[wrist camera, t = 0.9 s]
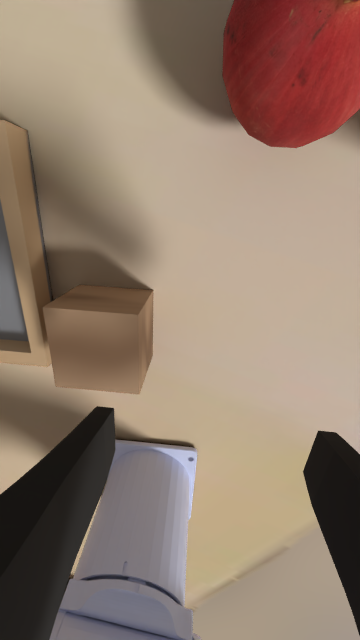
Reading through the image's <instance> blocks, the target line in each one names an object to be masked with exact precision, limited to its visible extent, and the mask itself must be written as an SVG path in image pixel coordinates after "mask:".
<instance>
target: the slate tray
mask: <svg viewBox="0 0 360 640" xmlns="http://www.w3.org/2000/svg"><path fill="white" fill-rule="evenodd" d="M52 301H53V298H52V292H51V285H50V278H49V272H48V265H47V258H46V252H45V245H44V238H43V232H42V225H41V218H40V211H39V205H38V198H37V191H36V185H35V178H34V171H33V165H32V158H31V151H30V145H29V138H28V131H27V130H25V129H23V128H20V127H18V126H16V125H14V124H12V123H9V122H7V121H5V120H0V363H10V364H21V365H32V366H43V367H48V366H49V365H50V364H51V363H52V361H51V355H50V349H49V343H48V337H47V331H46V325H45V319H44V314H43V308H42V307H44V306H45V305H47V304H49V303H50V302H52Z"/></svg>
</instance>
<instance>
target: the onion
mask: <svg viewBox="0 0 360 640" xmlns="http://www.w3.org/2000/svg"><path fill="white" fill-rule="evenodd" d="M222 76H223V80H224V83H225V87H226V90H227V94H228V98H229V101H230V105H231V108H232V111H233V113H234V115H235V116H236V118H237V119H238V121H239V122H240V123H241V125H242V126H243V128H244V129H245V130H246V132H247V133H248V135H250V136H252V137H254V138H256V139H257V140H259V141H261V142H263V143H265V144H266V145H268V146H271V147H288V148H297V147H301V146H304V145H306V144H309V143H311V142H313V141H316V140H318V139H320V138H322V137H325V136H327V135H329V134H332V133H334V132H335V131H336V130H337V129H338V128H339V127H340V126H341V125H342V124H344V123H345V122H346V121H347V120H348V119H349V118H350V117H351V116H353V115H354V114H355V113H356V112H357V111H358V110H359V109H360V0H234V3H233V5H232V8H231V11H230V14H229V17H228V19H227V23H226V27H225V30H224V43H223V74H222Z"/></svg>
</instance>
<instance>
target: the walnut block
mask: <svg viewBox="0 0 360 640" xmlns="http://www.w3.org/2000/svg"><path fill="white" fill-rule="evenodd" d="M42 308H43V314H44V319H45V325H46V331H47V337H48V343H49V349H50V355H51V361H52V367H53V373H54V379H55V385H56V387H66V388H76V389H87V390H98V391H108V392H119V393H130V394H140V391H141V388H142V385H143V382H144V379H145V376H146V373H147V370H148V367H149V364H150V362H151V359H152V356H153V290H145V289H131V288H117V287H103V286H90V285H78V286H77V287H75V288H73V289H72V290H70V291H68V292H67V293H65V294H64V295H62V296H60V297H59V298H57V299H55V300H54V301H52V302H50V303H49V304H47V305H45V306H44V307H42Z"/></svg>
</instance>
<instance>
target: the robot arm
mask: <svg viewBox="0 0 360 640" xmlns="http://www.w3.org/2000/svg"><path fill="white" fill-rule="evenodd" d="M196 462H197V450H196V449H195V448H193V447H184V446H174V445H165V444H155V443H145V442H135V441H126V440H116V439H115V423H114V408H107V407H98V406H97V407H96V408H95V409H94V410H93V411H92V412H91V413H90V414H89V415H88V416H87V417H86V418H85V419H84V420H83V421H82V422H81V423H80V424H79V425H78V426H77V427H76V428H75V429H74V430H73V431H72V432H71V433H70V434H69V435H68V436H67V437H66V438H64V439H63V440H62V441H61V442H60V443H59V444H58V445H57V446H56V447H55V448H54V449H53V450H52V451H51V452H50V453H48V454H47V455H46V456H45V457H44V458H43V459H42V460H41V461H40V462H38V463H37V464H36V465H35V466H34V467H33V468H31V469H30V470H29V471H28V472H27V473H26V474H25V475H23V476H22V477H21V478H20V479H19V480H18V481H16V482H15V483H14V484H13V485H12V486H10V487H9V488H8V489H7V490H5V491H4V492H3V493H2V494H0V640H202V639H201V637H200V636H198V635H197V634H195V633H192V631H193V627H192V626H193V611H192V610H191V609H188V608H185V607H184V602H185V580H186V557H187V534H188V520H189V519H190V517H191V508H192V499H193V490H194V480H195V471H196ZM303 473H304V477H305V481H306V485H307V489H308V493H309V496H310V500H311V504H312V507H313V509H314V512H315V515H316V517H317V520H318V523H319V525H320V528H321V531H322V533H323V536H324V538H325V541H326V544H327V546H328V549H329V551H330V554H331V556H332V559H333V562H334V564H335V567H336V569H337V572H338V575H339V577H340V580H341V582H342V585H343V587H344V590H345V593H346V596H347V598H348V601H349V604H350V607H351V609H352V612H353V616H354V619H355V622H356V625H357V629H358V632H359V635H360V454H359V453H358V452H357V451H356V450H354V449H353V448H352V447H351V446H350V445H349V444H348V443H347V442H346V441H345V440H344V439H343V438H342V437H341V436H339V435H338V434H337V433H335V432H326V431H318V433H317V435H316V438H315V441H314V443H313V446H312V449H311V452H310V454H309V457H308V460H307V462H306V465H305V468H304V471H303ZM106 481H107V482H106ZM105 484H106V485H105ZM104 486H105V488H104ZM103 489H104V491H103ZM102 491H103V494H102ZM101 494H102V497H101V500H100V502H99V505H98V508H97V511H96V514H95V517H94V520H93V522H92V525H91V528H90V531H89V534H88V537H87V540H86V542H85V545H84V548H83V551H82V554H81V557H80V560H79V562H78V565H77V568H76V571H75V574H74V577H73V579H70V580H69V583H68V585H67V582H68V579H69V576H70V573H71V570H72V567H73V565H74V562H75V559H76V556H77V554H78V551H79V549H80V546H81V544H82V541H83V539H84V536H85V534H86V531H87V529H88V526H89V524H90V521H91V519H92V516H93V514H94V511H95V509H96V506H97V504H98V501H99V499H100V496H101ZM66 585H67V588H66ZM65 588H66V591H65ZM64 591H65V594H64ZM63 594H64V596H63ZM62 598H63V599H62ZM61 601H62V602H61ZM60 604H61V605H60ZM59 607H60V608H59Z"/></svg>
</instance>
